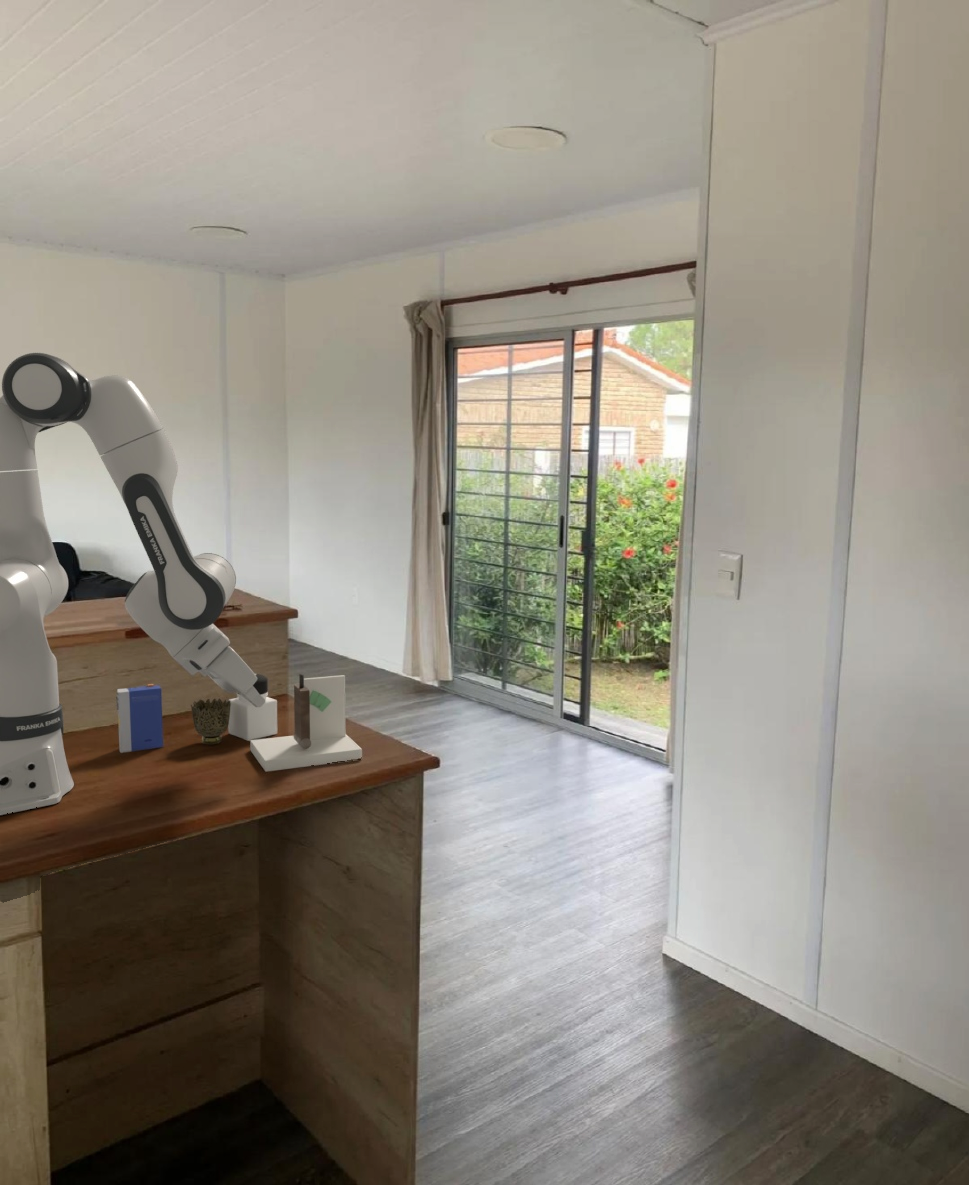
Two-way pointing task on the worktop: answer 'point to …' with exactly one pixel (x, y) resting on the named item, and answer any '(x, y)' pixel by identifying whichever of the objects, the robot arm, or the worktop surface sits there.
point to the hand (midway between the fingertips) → (261, 704)
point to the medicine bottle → (253, 714)
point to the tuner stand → (313, 731)
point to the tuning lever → (302, 714)
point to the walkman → (140, 718)
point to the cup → (211, 719)
